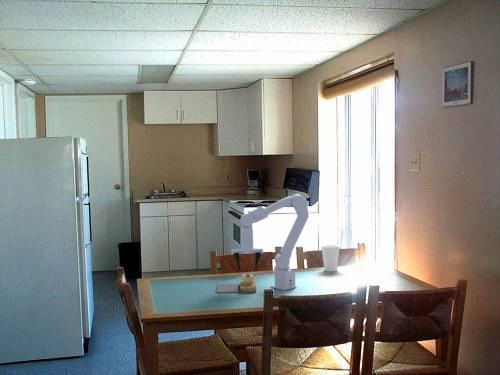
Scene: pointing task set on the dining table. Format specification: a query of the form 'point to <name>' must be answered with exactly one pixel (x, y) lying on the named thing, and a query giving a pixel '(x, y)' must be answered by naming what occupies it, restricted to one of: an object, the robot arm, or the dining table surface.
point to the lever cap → (247, 279)
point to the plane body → (247, 287)
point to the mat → (227, 288)
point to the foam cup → (330, 256)
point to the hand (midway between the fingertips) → (247, 269)
